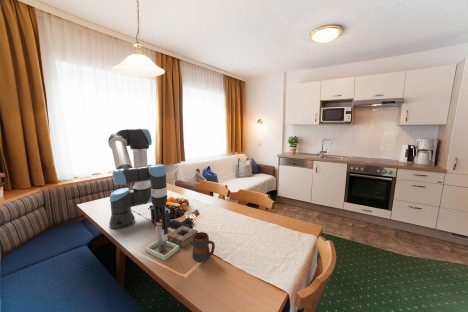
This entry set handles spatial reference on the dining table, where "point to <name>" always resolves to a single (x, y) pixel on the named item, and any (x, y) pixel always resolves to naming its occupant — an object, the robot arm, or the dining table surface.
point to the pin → (160, 236)
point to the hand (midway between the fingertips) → (161, 238)
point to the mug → (202, 247)
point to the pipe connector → (182, 223)
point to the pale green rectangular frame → (161, 256)
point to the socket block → (181, 236)
